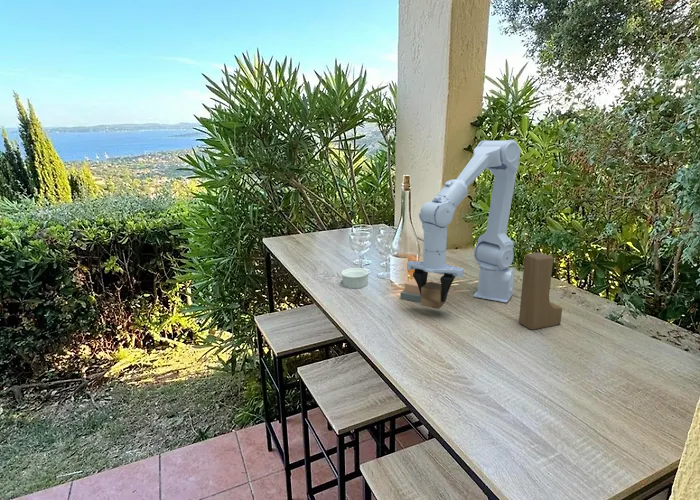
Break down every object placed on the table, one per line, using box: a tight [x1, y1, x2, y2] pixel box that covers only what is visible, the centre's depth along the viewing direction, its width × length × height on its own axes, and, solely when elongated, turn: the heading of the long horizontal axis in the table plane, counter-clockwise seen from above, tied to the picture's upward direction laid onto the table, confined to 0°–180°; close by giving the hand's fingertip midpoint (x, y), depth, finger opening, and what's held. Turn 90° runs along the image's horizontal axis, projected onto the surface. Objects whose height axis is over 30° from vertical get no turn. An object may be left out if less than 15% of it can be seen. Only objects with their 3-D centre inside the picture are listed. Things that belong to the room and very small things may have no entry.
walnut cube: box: [420, 281, 447, 310], centre depth 104 cm, size 5×5×5 cm
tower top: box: [404, 277, 433, 295], centre depth 116 cm, size 6×6×2 cm
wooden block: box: [518, 252, 563, 331], centre depth 96 cm, size 9×4×18 cm, turn 108°
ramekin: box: [341, 267, 370, 290], centre depth 128 cm, size 9×9×4 cm
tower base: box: [399, 289, 421, 304], centre depth 117 cm, size 8×8×2 cm
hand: (433, 298), depth 105 cm, fingers closed on walnut cube, 5 cm apart
